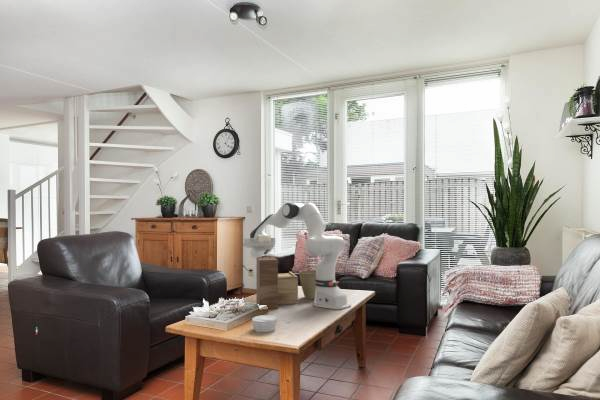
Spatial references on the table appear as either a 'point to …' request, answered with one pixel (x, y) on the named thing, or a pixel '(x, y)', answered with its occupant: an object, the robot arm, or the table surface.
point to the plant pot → (308, 283)
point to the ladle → (264, 239)
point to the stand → (275, 284)
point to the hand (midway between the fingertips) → (260, 237)
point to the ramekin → (264, 323)
